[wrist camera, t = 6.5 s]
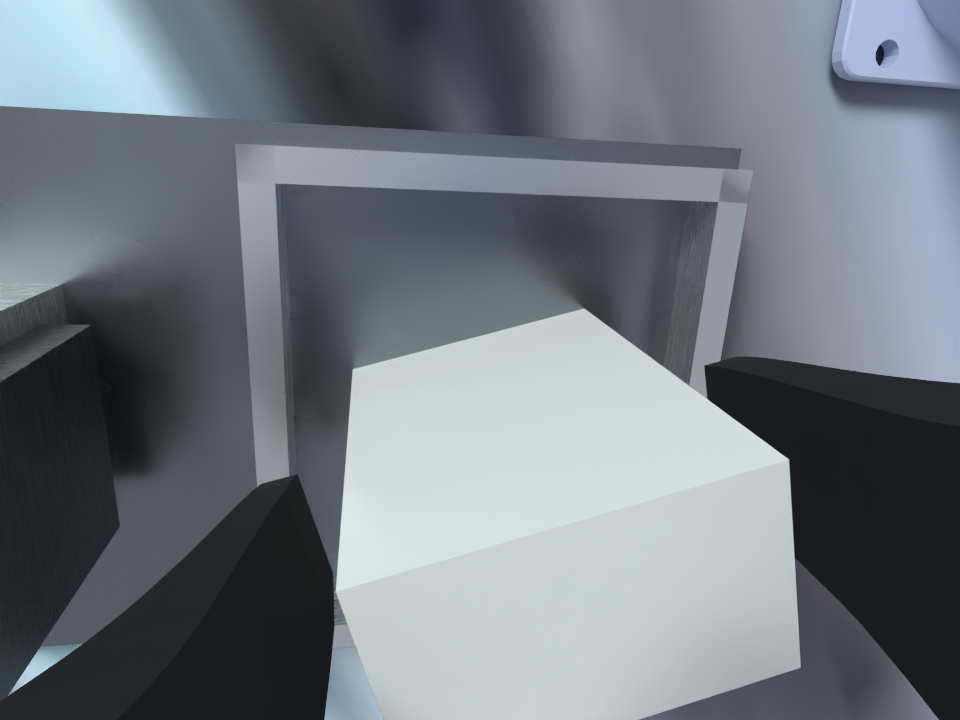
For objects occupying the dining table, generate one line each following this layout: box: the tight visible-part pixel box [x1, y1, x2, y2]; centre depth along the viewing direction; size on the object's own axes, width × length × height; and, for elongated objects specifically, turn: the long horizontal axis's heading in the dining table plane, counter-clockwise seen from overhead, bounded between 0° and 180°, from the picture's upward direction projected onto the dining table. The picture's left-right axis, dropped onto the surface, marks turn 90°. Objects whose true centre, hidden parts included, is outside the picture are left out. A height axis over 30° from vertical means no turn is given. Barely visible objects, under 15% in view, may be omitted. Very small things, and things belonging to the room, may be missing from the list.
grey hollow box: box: [0, 106, 753, 701], centre depth 10 cm, size 20×11×8 cm, turn 87°
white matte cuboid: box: [336, 309, 801, 720], centre depth 11 cm, size 4×5×7 cm
